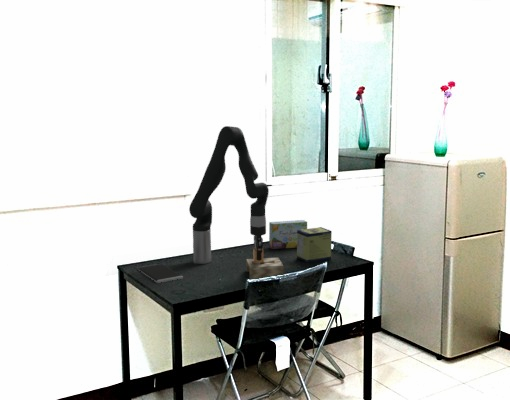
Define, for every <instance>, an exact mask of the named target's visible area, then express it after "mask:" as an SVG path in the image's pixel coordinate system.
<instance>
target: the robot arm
mask: <svg viewBox="0 0 510 400" xmlns="http://www.w3.org/2000/svg"><path fill="white" fill-rule="evenodd" d="M243 132H244V131H243V130H242V129H241V128H240V127H237V126H230V125H229V126H227V125H225V126H223V127H222V128H221V129H220V131H219V133H218V136H217V139H216V143H215V146H214V149H213V152H212V155H211V157H210V159H209V162H208V165H207V167H206V169H205V172H204V175H203V177H202V179H201V182H200V184H199V186H198V189H197V191H196V193H195V195H194V197H193V199H192V200H191V202H190V205H189V209H188V210H189V214H190V216H191V217H192V218H194V219H195V221H194V223H193V224H192V248H193V249H192V250H193V251H192V253H193V254H192V255H193V264H199V265H200V264H201V265H202V264H203V265H205V264H209V263H211V262H212V241H211V240H212V239H211V238H212V236H211V235H212V234H211V226H212V223H213V207H212V203H211V201H210V200H209V199H210V197H211V196H212V194H213V193H214V191H216V189H217V188H218V186H219V185H220V184H221V182H222V180H223V178H224V175H225V173H226V170H227V169H226V167H227V165H226V153H227V151H228V149H229V147H230V146H233V147H234V149H235V150H236V151H237V154H238V168H239V172H240V174H241V175H242V177H243V180H244V185H245V191H246V194H247V197H249V198H251V199H252V200H253V199H256V200H255V201H254V202H252V203H251V204H250V221H249V225H250V229H249V231H250V235H252V236H253V245H254V246H253V248H256V250H257V251H256V252H257V260H258V261H260V260H262V256H261V253H262V252H263V253H264V248H263V245H264V238H263V237H262V236H265V235H266V234H267V219H266V205H267V201H268V198H269V190H270V189H269V187H268V186H269V185H267V183H265V182H257V183H255V181H256V180H257V179H258V178H259V173H258V171H257V169H256V167H255V165H254V163H253V160H252V157H251V155H250V151H249V148H248V145H247V142H246V138H245V135H244V133H243ZM258 249H260V250H258ZM262 250H263V251H262Z"/></svg>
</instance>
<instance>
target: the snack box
mask: <svg viewBox="0 0 510 400" xmlns="http://www.w3.org/2000/svg"><path fill="white" fill-rule="evenodd" d="M268 223H269V224H268V226H269V228H268V229H269V230H268V231H269V235H268V236H269V237H268V240H269V241H268V243H269V244H268V245H269V246H268V247H269V248H270V249H271V250H279V249H293V248H294V249H295V248H296V249H297V230H302V229H308V221H306V220H305V219H301V220H298V219H297V220H282V221H269V222H268Z"/></svg>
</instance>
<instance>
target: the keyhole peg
mask: <svg viewBox="0 0 510 400" xmlns="http://www.w3.org/2000/svg"><path fill="white" fill-rule="evenodd" d="M252 250H253V251H252V253H253V256H252V257H253V258H252V259H253V260H254V262H257V264H260V262H264V257H265V256H264V254H265V253H264V249H263V250H262V251H263V252H262V253H261V256H262V260H260V261H258V260H257V252H256V251H257V250H256V248H255V247H252ZM258 250H260V249H258ZM255 265H256V264H255Z"/></svg>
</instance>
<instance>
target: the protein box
mask: <svg viewBox="0 0 510 400" xmlns="http://www.w3.org/2000/svg"><path fill="white" fill-rule="evenodd" d="M332 233H333V232H332V230H330V229H327V228H324V227H322V226H320V227H312V228H307V229H302V230H297V247H296V258H297V259H298V260H300V261H302V262H305V263H307V264H308V263H314V262H320V261H321V262H322V261H328V260H327V259H329V260H332Z"/></svg>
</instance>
